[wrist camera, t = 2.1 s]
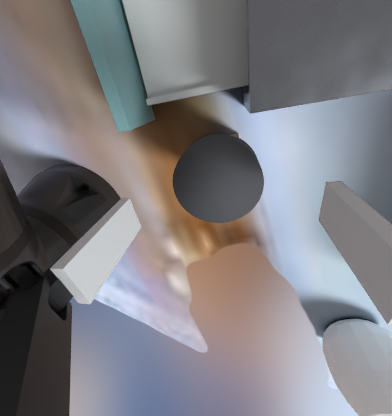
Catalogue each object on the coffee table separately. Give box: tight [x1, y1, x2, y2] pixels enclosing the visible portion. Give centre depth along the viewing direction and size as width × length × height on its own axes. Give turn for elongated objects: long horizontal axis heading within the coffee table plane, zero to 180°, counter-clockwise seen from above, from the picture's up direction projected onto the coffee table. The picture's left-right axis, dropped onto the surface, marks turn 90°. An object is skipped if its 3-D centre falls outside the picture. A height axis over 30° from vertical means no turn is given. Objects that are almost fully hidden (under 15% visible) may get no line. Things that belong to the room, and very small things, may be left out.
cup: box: [323, 319, 392, 416], centre depth 33 cm, size 13×13×14 cm
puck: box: [173, 133, 264, 223], centre depth 17 cm, size 8×8×2 cm
